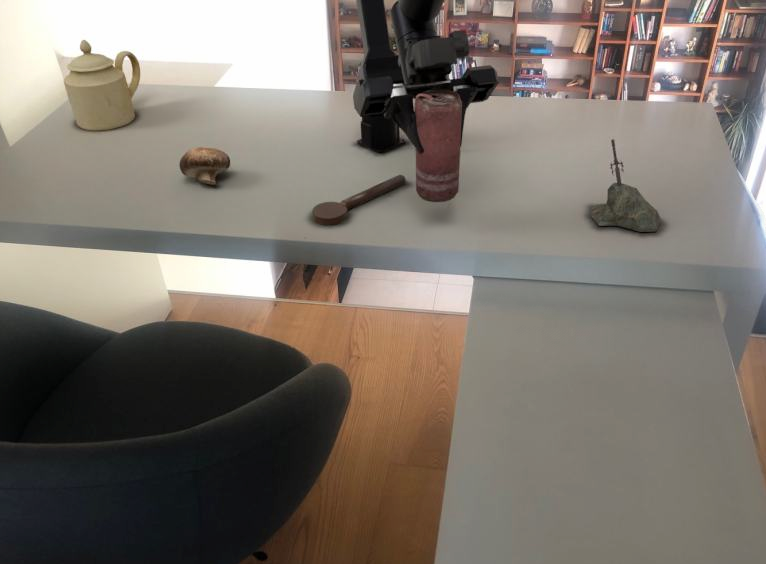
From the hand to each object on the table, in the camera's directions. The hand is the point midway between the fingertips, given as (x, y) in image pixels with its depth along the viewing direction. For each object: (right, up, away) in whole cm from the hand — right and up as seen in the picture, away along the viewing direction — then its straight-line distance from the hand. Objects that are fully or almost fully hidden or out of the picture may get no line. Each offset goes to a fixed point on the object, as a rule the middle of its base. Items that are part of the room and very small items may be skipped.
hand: (440, 150), depth 94 cm
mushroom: (-37, +1, +21) cm, 42 cm away
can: (0, -5, +6) cm, 7 cm away
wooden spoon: (-12, -4, +14) cm, 18 cm away
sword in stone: (+28, -8, +9) cm, 30 cm away
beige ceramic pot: (-63, +19, +44) cm, 79 cm away
